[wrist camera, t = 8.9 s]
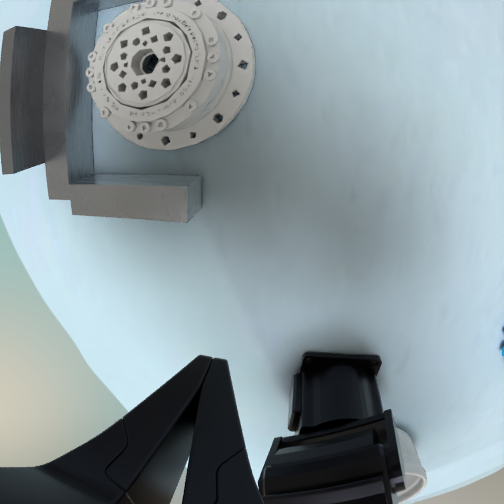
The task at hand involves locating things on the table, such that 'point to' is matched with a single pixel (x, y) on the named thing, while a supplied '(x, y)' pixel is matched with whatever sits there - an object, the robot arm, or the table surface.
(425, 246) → the table surface
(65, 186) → the clevis bracket
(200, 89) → the mechanical component
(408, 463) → the ramekin
